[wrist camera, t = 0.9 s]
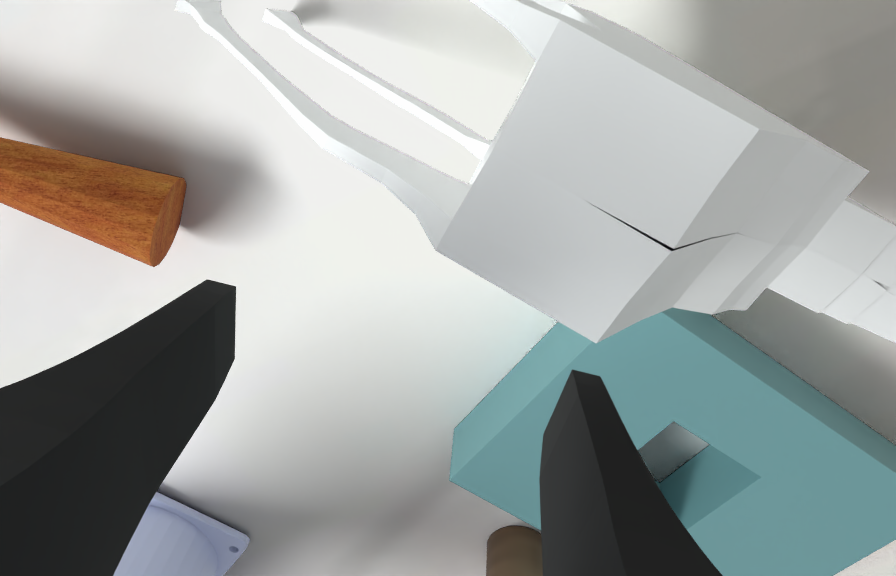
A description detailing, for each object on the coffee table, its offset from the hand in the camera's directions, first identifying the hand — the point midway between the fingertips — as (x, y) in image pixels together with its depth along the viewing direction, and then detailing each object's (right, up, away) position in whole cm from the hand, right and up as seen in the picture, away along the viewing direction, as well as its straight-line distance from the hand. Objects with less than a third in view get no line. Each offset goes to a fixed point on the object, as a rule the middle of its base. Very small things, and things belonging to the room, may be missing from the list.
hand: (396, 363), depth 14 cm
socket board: (+11, -5, +14) cm, 19 cm away
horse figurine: (+8, +7, +8) cm, 13 cm away
